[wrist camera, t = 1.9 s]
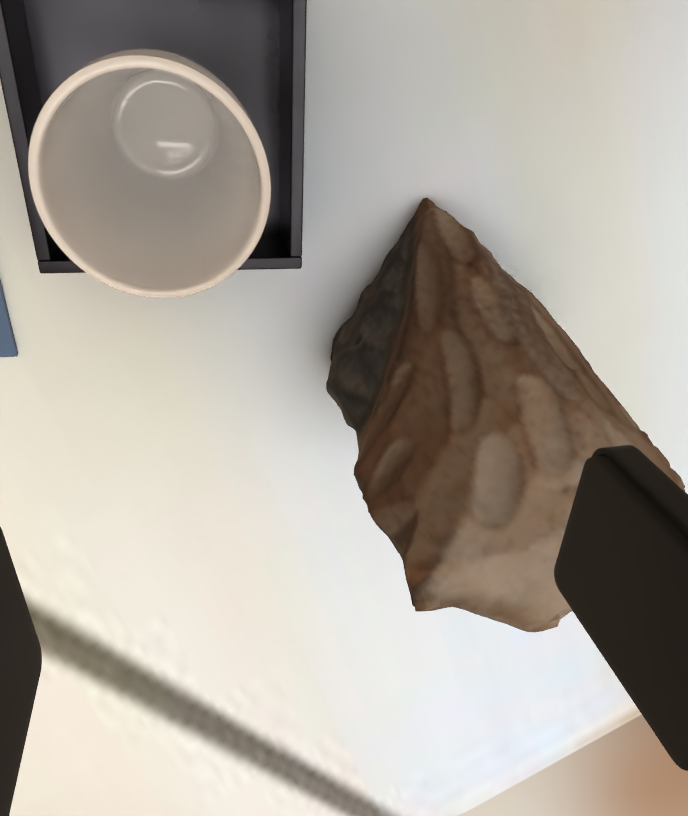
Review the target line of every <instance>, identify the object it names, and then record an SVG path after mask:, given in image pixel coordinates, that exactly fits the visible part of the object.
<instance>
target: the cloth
mask: <svg viewBox="0 0 688 816" xmlns="http://www.w3.org/2000/svg"><path fill="white" fill-rule="evenodd" d="M17 355H18V352H17V348H16V344H15V339H14V335H13V331H12V327H11V323H10V319H9V314H8V310H7V306H6V302H5V298H4V293H3V289H2V285H1V281H0V357H14V356H17Z"/></svg>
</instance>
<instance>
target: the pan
mask: <svg viewBox="0 0 688 816" xmlns="http://www.w3.org/2000/svg"><path fill="white" fill-rule="evenodd" d="M306 6H307V0H0V79H1V84H2V89H3V94H4V99H5V104H6V109H7V114H8V119H9V123H10V128H11V133H12V138H13V143H14V148H15V153H16V158H17V163H18V168H19V172H20V177H21V182H22V187H23V192H24V197H25V202H26V207H27V212H28V216H29V221H30V226H31V231H32V236H33V241H34V246H35V251H36V256H37V260H39V261H38V265H39V270H40V273H86V272H85V271H83V270H82V269H81V268H80V267H78V266H77V265H76V264H75V263H74V262H73V261H72V260H71V259H70V258H69V257H68V256H67V255H66V254H65V253H64V252H63V251H62V250H61V249H60V248H59V246H58V245H57V244H56V243H55V241H54V240H53V238H52V237H51V236H50V234H49V233H48V231H47V229H46V227H45V226H44V224H43V222H42V220H41V218H40V216H39V213H38V211H37V208H36V205H35V203H34V200H33V196H32V192H31V188H30V182H29V174H28V153H29V145H30V139H31V135H32V132H33V128H34V125H35V123H36V120H37V118H38V115H39V113H40V111H41V110H42V108H43V106H44V104H45V103H46V101H47V100H48V99H49V97H50V96H51V94H52V93H53V92H54V91H55V90H56V89H57V88H58V87H59V86H60V85H61V84H62V83H63V82H64V81H65V80H66V79H67V78H68V77H69V76H71V75H72V74H73V73H74V72H75V71H77V70H78V69H79V68H81V67H82V66H84V65H86V64H87V63H89V62H91V61H93V60H95V59H97V58H99V57H101V56H104V55H106V54H109V53H112V52H116V51H121V50H125V49H134V48H150V49H159V50H164V51H168V52H172V53H175V54H178V55H182V56H184V57H186V58H188V59H191V60H193V61H195V62H196V63H198V64H200V65H202V66H203V67H205V68H206V69H208V70H209V71H211V72H212V73H213V74H215V75H216V76H217V77H218V78H219V79H221V80H222V81H223V82H224V83H225V84H226V85H227V86H228V87H229V88H230V89H231V91H232V92H233V93H234V94H235V95H236V97H237V98H238V99H239V100H240V102H241V103H242V105H243V106H244V108H245V109H246V111H247V112H248V114H249V116H250V118H251V119H252V121H253V123H254V125H255V128H256V130H257V132H258V134H259V137H260V140H261V142H262V145H263V148H264V151H265V154H266V157H267V162H268V166H269V172H270V181H271V200H270V207H269V213H268V217H267V222H266V225H265V228H264V230H263V233H262V235H261V237H260V240H259V242H258V243H257V245H256V247H255V249H254V250H253V252H252V253H251V254H250V256H249V257H248V259H247V260H246V261H245V262H244V263H243V264H242V265H241V266H240V267H239V268H238V269H237V270H246V269H300V268H301V267H302V258H301V256H302V219H303V166H304V112H305V59H306Z"/></svg>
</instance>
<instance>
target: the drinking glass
mask: <svg viewBox="0 0 688 816" xmlns="http://www.w3.org/2000/svg"><path fill="white" fill-rule="evenodd" d="M28 174H29V182H30V188H31V192H32V196H33V200H34V203H35V205H36V208H37V211H38V213H39V216H40V218H41V220H42V222H43V224H44V226H45V227H46V229H47V231H48V233H49V234H50V236H51V237H52V238H53V240H54V241H55V243H56V244H57V245H58V246H59V248H60V249H61V250H62V251H63V252H64V253H65V254H66V255H67V256H68V257H69V258H70V259H71V260H72V261H73V262H74V263H75V264H76V265H77V266H78V267H80V268H81V269H82V270H83V271H85V272H86V273H88V274H89V275H90V276H92V277H94V278H95V279H97V280H99V281H100V282H102V283H104V284H106V285H108V286H110V287H113V288H115V289H118V290H120V291H123V292H127V293H130V294H134V295H139V296H144V297H153V298H172V297H181V296H187V295H191V294H194V293H198V292H201V291H203V290H206V289H208V288H210V287H213V286H215V285H217V284H218V283H220V282H222V281H223V280H225V279H226V278H227V277H229V276H230V275H231V274H233V273H234V272H235V271H236V270H237V269H238V268H239V267H240V266H241V265H242V264H243V263H244V262H245V261H246V260H247V259H248V257H249V256H250V254H251V253H252V252H253V250H254V249H255V247H256V245H257V243H258V242H259V240H260V237H261V235H262V233H263V230H264V228H265V225H266V222H267V217H268V213H269V207H270V200H271V181H270V172H269V166H268V162H267V157H266V154H265V151H264V148H263V145H262V142H261V140H260V137H259V134H258V132H257V130H256V128H255V125H254V123H253V121H252V119H251V118H250V116H249V114H248V112H247V111H246V109H245V108H244V106H243V105H242V103H241V102H240V100H239V99H238V98H237V97H236V95H235V94H234V93H233V92H232V91H231V89H230V88H229V87H228V86H227V85H226V84H225V83H224V82H223V81H222V80H221V79H219V78H218V77H217V76H216V75H215V74H213V73H212V72H211V71H209V70H208V69H206V68H205V67H203V66H202V65H200V64H198V63H196V62H195V61H193V60H191V59H188V58H186V57H184V56H182V55H178V54H175V53H172V52H168V51H164V50H159V49H150V48H134V49H125V50H121V51H116V52H112V53H109V54H106V55H104V56H101V57H99V58H97V59H95V60H93V61H91V62H89V63H87V64H86V65H84V66H82V67H81V68H79V69H78V70H77V71H75V72H74V73H73V74H72V75H71V76H69V77H68V78H67V79H66V80H65V81H64V82H63V83H62V84H61V85H60V86H59V87H58V88H57V89H56V90H55V91H54V92H53V93H52V94H51V96H50V97H49V99H48V100H47V101H46V103H45V104H44V106H43V108H42V110H41V111H40V113H39V115H38V118H37V120H36V123H35V125H34V128H33V132H32V135H31V139H30V145H29V153H28Z"/></svg>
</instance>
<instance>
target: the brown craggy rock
mask: <svg viewBox="0 0 688 816" xmlns="http://www.w3.org/2000/svg"><path fill="white" fill-rule="evenodd" d="M326 389H327V392H328V393H329V395H330V396H331V397H332V398H333V399H334V400H335V402H336V403H337V405H338V406H339V407H340V409H341V411H342V414H343V417H344V419H345V421H346V423H347V425H348V426H350V427H352V428H353V429H354V430H355V431H356V433H357V441H358V448H359V454H358V461H357V462H356V464H355V467H354V476H355V478H356V480H357V483H358V486H359V488H360V490H361V491H362V493H363V499H364V500H365V502H366V504H367V506H368V512H369V513H370V515H371V517H372V519H373V520H374V522H375V523H376V525H377V526H378V527H379V528H380V529H381V530H382V531H383V532H384V533H385V534H386V535H387V536H388V537H389V538H390V540H391V542H392V543H393V545H394V547H395V548H396V550H397V551H398V552H399V554H400V556H401V558H402V560H403V564H404V569H405V575H406V580H407V584H408V587H409V591H410V594H411V600H412V605H413V606H414V607H415V611H432V610H437V609H442V608H447V607H456V608H460V609H464V610H467V611H469V612H472V613H474V614H477V615H480V616H483V617H487V618H490V619H492V620H495V621H499V622H502V623H505V624H508V625H511V626H513V627H516V628H518V629H520V630H523V631H527V632H539V631H544V630H548V629H551V628H554V627H557V626H558V623H559V621H560V619H561V618H563V617H564V616H565V615H567V614H568V613H569V612H571V611H573V610H572V609H571V608H570V606H569V605H568V603H567V602H566V600H565V599H564V597H563V596H562V594H561V593H560V591H559V589H558V588H557V585H556V582H555V578H554V567H555V564H556V560H557V557H558V553H559V550H560V546H561V543H562V539H563V536H564V533H565V529H566V526H567V522H568V519H569V515H570V512H571V508H572V505H573V501H574V498H575V494H576V491H577V488H578V484H579V481H580V477H581V474H582V470H583V467H584V464H585V462H586V460H587V459H588V458H591V457H592V455H593V453H594V452H595V451H596V450H597V449H599V448H604V447H613V446H622V445H632V446H634V447H636V448H638V449H639V450H640V451H641V452H642V453H643V454H644V455H645V456H646V457H648V458H649V459H650V460H651V461H652V462H653V463H654V464H655V465H656V466H657V467H658V468H659V469H661V470H662V471H663V472H664V473H665V474H666V475H667V476H668V477H669V478H670V479H671V480H672V481H674V482H675V483H676V484H677V485H678V486H679V487H680V488H681V489H682V490H683V491H684V492H685V490H684V488H685V486H684V484H683V482H682V479H681V477H680V476H679V475H678V474H677V473H676V472H675V471H674V470H673V469H671V468H670V464H669V462H668V460H667V459H666V458H665V457H664V455H663V454H662V453H661V452H660V450H659V449H658V448H657V447H655V446H654V445H653V444H652V442H651V441H650V439H649V438H648V435H647V434H646V433H645V432H643V431H641V430H640V429H639V427H638V425H637V424H636V423H635V422H634V421H633V419H632V418H631V417H630V415H629V414H628V412H627V411H626V410H625V408H624V407H623V406H622V405H621V404H620V402H619V401H618V400H617V399H616V398H615V396H614V395H613V394H612V393H611V391H610V390H609V389H608V388H607V387H606V385H605V384H604V383H603V382H602V381H601V380H600V379H599V377H598V376H597V375H596V374H595V373H594V371H593V370H592V368H591V366H590V364H589V363H588V361H587V360H586V359H585V358H584V356H583V355H582V353H581V352H580V350H579V348H578V347H577V346H576V345H575V343H574V342H573V341H572V340H571V339H570V337H569V336H568V335H567V334H566V332H565V331H564V330H563V329H562V328H561V327H560V326H559V325H558V324H557V323H556V321H555V320H554V319H553V318H552V316H551V315H550V314H549V312H548V311H547V310H546V308H545V307H544V306H543V305H542V304H541V302H540V301H539V300H538V299H536V298H535V296H534V295H533V294H532V293H531V292H530V291H529V290H527V289H526V288H525V287H523V286H522V285H521V284H519V283H518V282H516V281H515V280H514V279H513V278H512V277H511V276H510V275H509V274H508V273H507V272H505V271H504V270H503V269H502V268H501V267H500V266H499V264H498V263H497V262H496V260H495V259H494V258H493V256H492V253H491V252H490V251H489V250H488V249H486V248H485V247H484V246H483V245H482V244H481V243H480V242H479V241H478V239H477V238H476V236H475V234H474V232H472V231H471V230H469V229H467V228H465V227H463V226H462V225H461V224H459V223H458V222H457V221H456V219H455V218H454V217H452V216H451V215H450V214H448V213H447V212H446V211H444V210H442V209H440V208H438V207H437V206H436V205H435V204H434V203H433V202H432V201H431V200H429V199H428V198H425V199H423V200H422V202H421V203H420V205H419V208H418V210H417V211H416V213H415V215H414V217H413V218H412V220H411V221H410V222H409V224H408V225H407V227H406V229H405V231H404V233H403V234H402V236H401V238H400V239H399V241H398V243H397V244H396V245H395V246H394V248H393V249H392V250H391V251H390V252H389V254H388V255H387V257H386V258H385V260H384V263H383V265H382V268H381V270H380V272H379V274H378V275H377V277H376V278H375V280H374V281H373V282H372V283H371V284H370V285H368V286H367V287H366V288H365V289H364V291H363V292H362V294H361V296H360V299H359V302H358V306H357V310H356V312H355V313H354V315H353V316H352V317H351V318H350V319H349V320H348V321H347V322H345V323H344V324H343V325H342V326H341V328H340V329H339V331H338V332H337V334H336V336H335V337H334V339H333V346H332V353H331V366H330V371H329V376H328V380H327V382H326Z"/></svg>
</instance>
